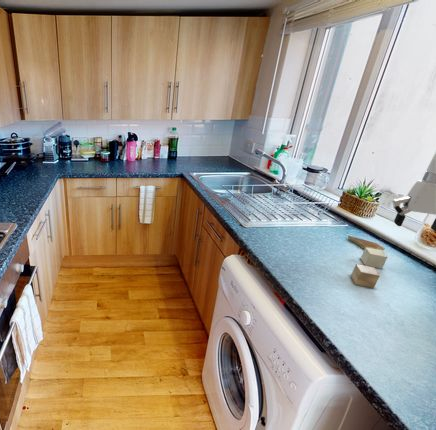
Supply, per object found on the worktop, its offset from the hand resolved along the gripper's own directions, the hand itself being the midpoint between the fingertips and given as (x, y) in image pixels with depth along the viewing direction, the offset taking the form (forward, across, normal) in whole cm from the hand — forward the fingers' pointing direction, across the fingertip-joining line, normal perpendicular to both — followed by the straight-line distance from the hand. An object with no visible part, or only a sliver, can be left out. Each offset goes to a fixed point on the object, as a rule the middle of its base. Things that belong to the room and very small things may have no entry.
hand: (415, 227), depth 97 cm
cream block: (+16, +7, 0) cm, 18 cm away
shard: (+17, +6, -13) cm, 22 cm away
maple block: (+16, +14, +16) cm, 27 cm away
